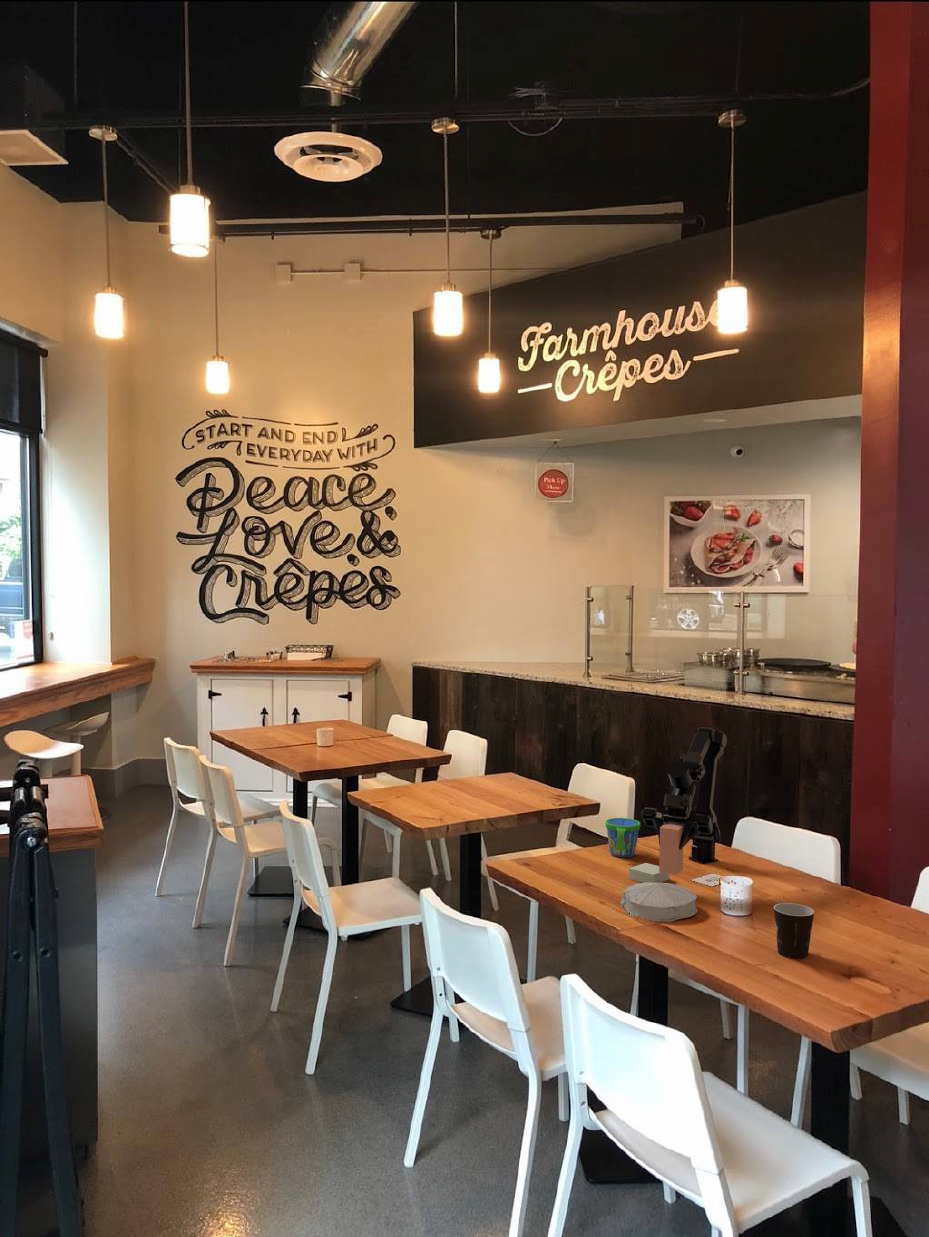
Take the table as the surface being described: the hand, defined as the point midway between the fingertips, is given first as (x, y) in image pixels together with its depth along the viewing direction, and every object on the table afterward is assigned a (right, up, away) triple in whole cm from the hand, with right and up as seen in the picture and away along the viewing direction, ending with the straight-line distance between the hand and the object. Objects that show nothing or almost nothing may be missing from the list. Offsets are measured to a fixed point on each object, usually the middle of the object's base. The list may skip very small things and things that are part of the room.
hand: (670, 847), depth 257 cm
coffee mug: (+18, -14, -43) cm, 48 cm away
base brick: (-3, -12, +12) cm, 17 cm away
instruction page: (+14, -12, +12) cm, 22 cm away
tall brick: (+1, -7, +1) cm, 7 cm away
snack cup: (-7, -11, +37) cm, 39 cm away
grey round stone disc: (-5, -13, -12) cm, 19 cm away
